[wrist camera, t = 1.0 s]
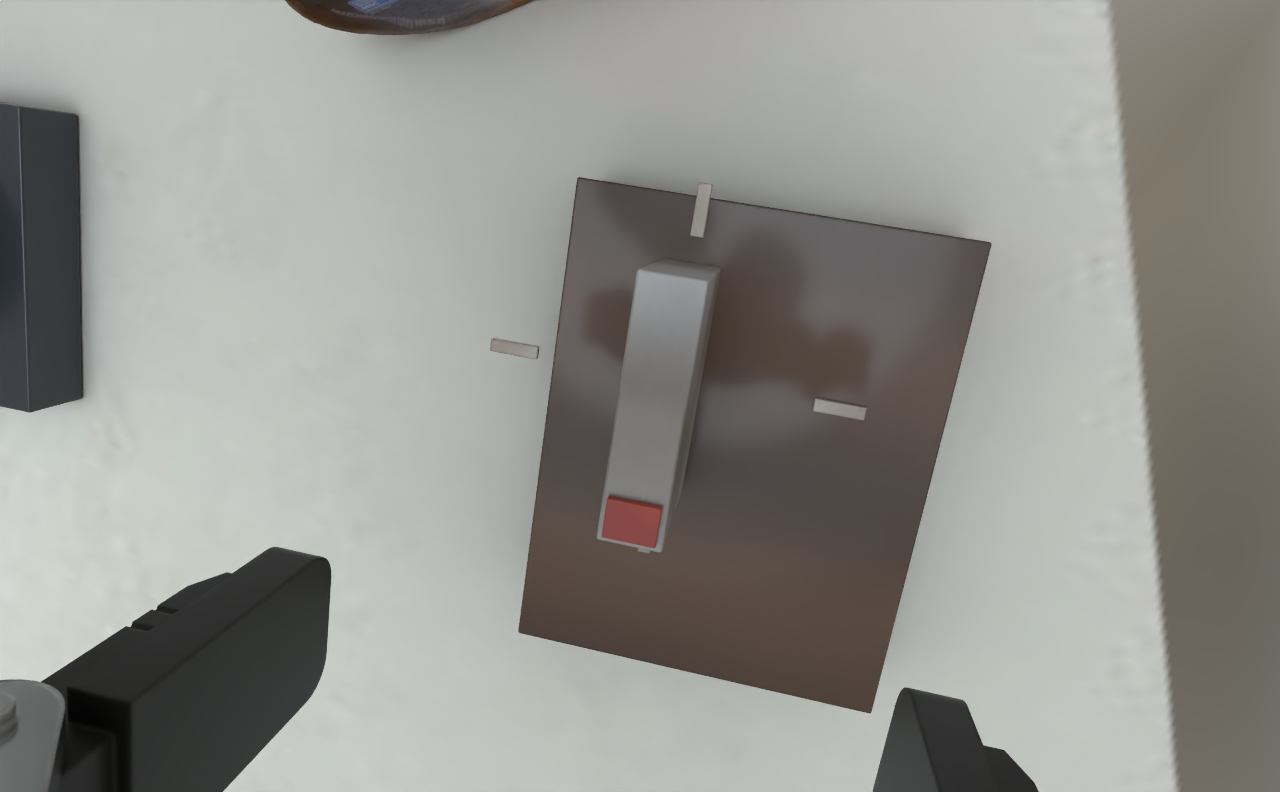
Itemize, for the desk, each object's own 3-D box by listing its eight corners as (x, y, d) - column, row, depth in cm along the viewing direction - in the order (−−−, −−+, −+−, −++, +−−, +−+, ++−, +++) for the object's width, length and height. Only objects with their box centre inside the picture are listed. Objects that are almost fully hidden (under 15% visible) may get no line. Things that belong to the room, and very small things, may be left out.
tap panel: (543, 160, 25) (511, 152, 22) (968, 226, 23) (997, 228, 20) (493, 578, 28) (460, 622, 25) (860, 660, 27) (871, 717, 24)
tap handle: (663, 257, 22) (634, 269, 17) (721, 267, 22) (707, 281, 17) (628, 480, 24) (593, 543, 19) (682, 490, 23) (660, 558, 19)
